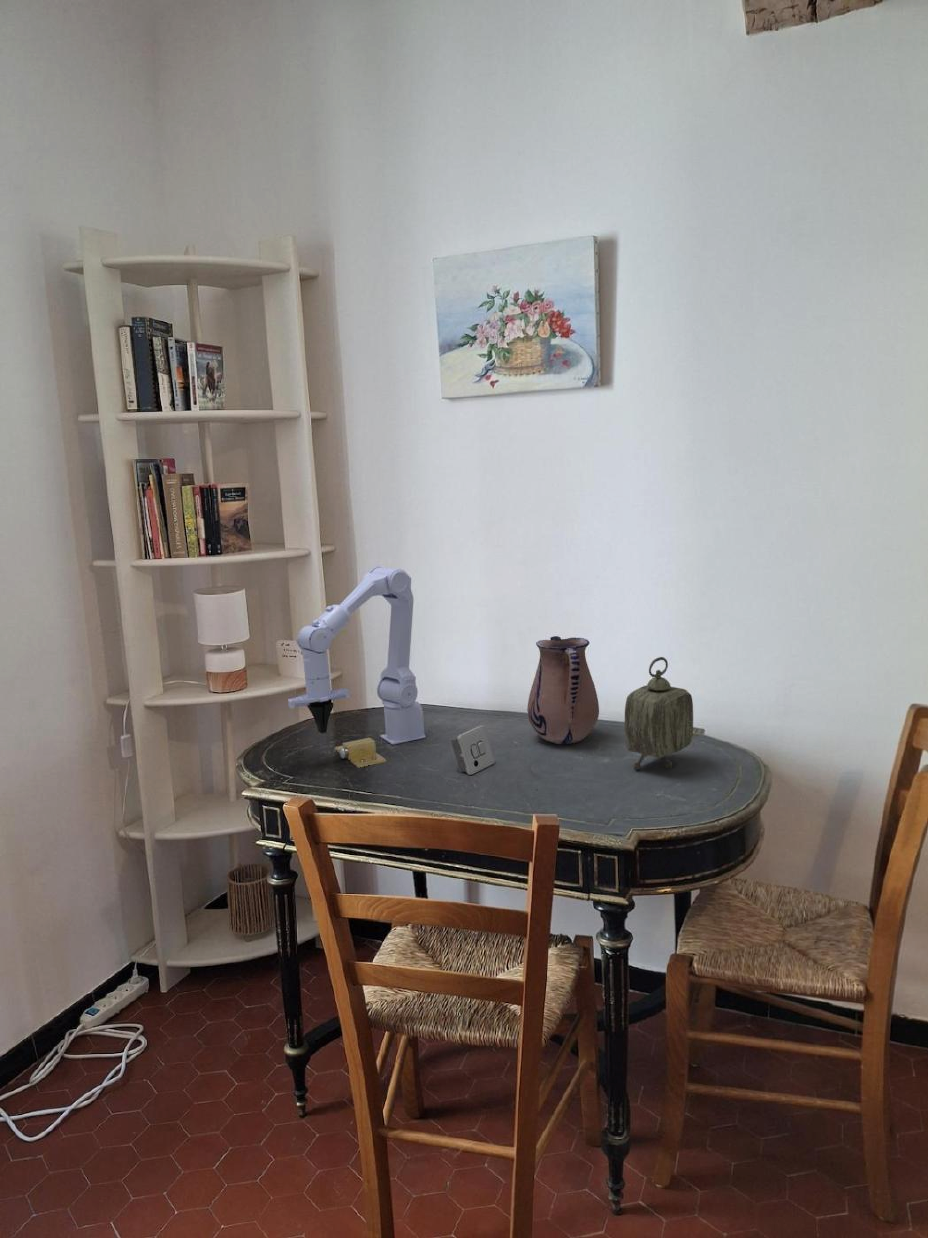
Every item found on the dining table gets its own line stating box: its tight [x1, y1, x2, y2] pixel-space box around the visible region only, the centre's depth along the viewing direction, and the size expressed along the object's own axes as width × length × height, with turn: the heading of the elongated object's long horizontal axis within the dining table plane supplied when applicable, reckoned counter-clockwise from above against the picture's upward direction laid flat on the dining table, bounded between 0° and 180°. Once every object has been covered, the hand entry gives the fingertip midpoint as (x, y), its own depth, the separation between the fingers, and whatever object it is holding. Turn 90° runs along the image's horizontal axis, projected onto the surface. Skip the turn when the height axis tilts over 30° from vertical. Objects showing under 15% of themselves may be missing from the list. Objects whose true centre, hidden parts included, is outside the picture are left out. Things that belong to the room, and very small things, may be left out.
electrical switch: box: [450, 725, 495, 776], centre depth 210 cm, size 9×5×9 cm, turn 141°
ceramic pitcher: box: [527, 635, 600, 745], centre depth 224 cm, size 18×21×25 cm
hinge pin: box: [339, 743, 377, 759], centre depth 223 cm, size 9×3×3 cm, turn 118°
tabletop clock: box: [623, 656, 694, 771], centre depth 203 cm, size 14×9×25 cm, turn 134°
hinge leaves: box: [334, 737, 387, 769], centre depth 223 cm, size 7×16×3 cm, turn 28°
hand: (322, 731), depth 218 cm, fingers closed
